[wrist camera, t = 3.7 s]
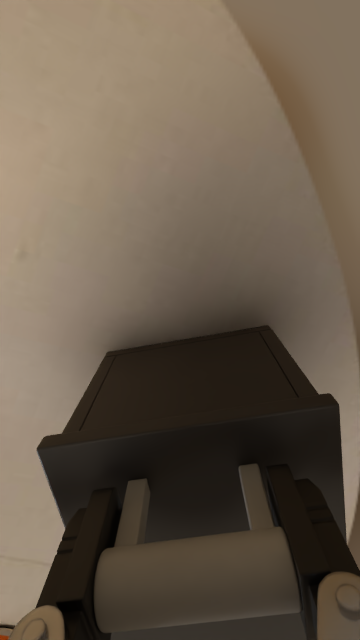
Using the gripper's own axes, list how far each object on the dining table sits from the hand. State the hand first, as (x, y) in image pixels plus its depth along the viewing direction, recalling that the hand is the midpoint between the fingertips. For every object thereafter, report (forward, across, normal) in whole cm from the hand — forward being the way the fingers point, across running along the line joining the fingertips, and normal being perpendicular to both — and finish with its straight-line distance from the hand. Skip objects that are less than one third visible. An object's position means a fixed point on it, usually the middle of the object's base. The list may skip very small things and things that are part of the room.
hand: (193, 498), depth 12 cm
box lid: (+2, 0, +5) cm, 5 cm away
